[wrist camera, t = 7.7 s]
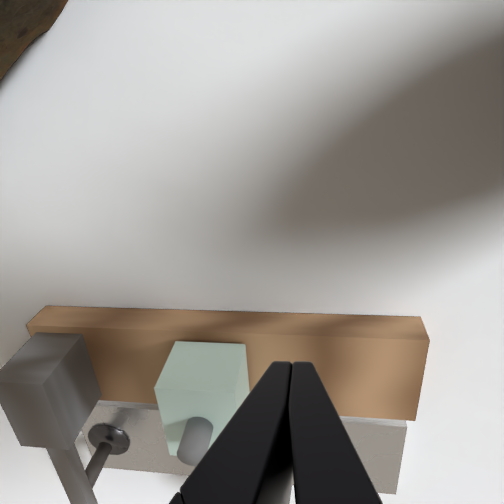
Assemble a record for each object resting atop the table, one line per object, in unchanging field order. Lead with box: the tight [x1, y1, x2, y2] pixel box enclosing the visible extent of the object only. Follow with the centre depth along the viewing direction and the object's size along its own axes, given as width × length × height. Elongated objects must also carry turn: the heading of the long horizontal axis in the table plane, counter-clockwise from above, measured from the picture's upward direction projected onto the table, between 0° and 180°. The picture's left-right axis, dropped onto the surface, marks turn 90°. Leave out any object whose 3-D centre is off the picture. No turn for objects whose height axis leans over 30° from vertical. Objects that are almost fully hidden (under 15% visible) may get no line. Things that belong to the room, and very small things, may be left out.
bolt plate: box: [82, 400, 407, 494], centre depth 29 cm, size 23×7×1 cm, turn 93°
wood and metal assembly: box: [0, 306, 430, 504], centre depth 25 cm, size 23×14×6 cm, turn 93°
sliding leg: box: [154, 341, 250, 466], centre depth 24 cm, size 4×14×6 cm, turn 3°
